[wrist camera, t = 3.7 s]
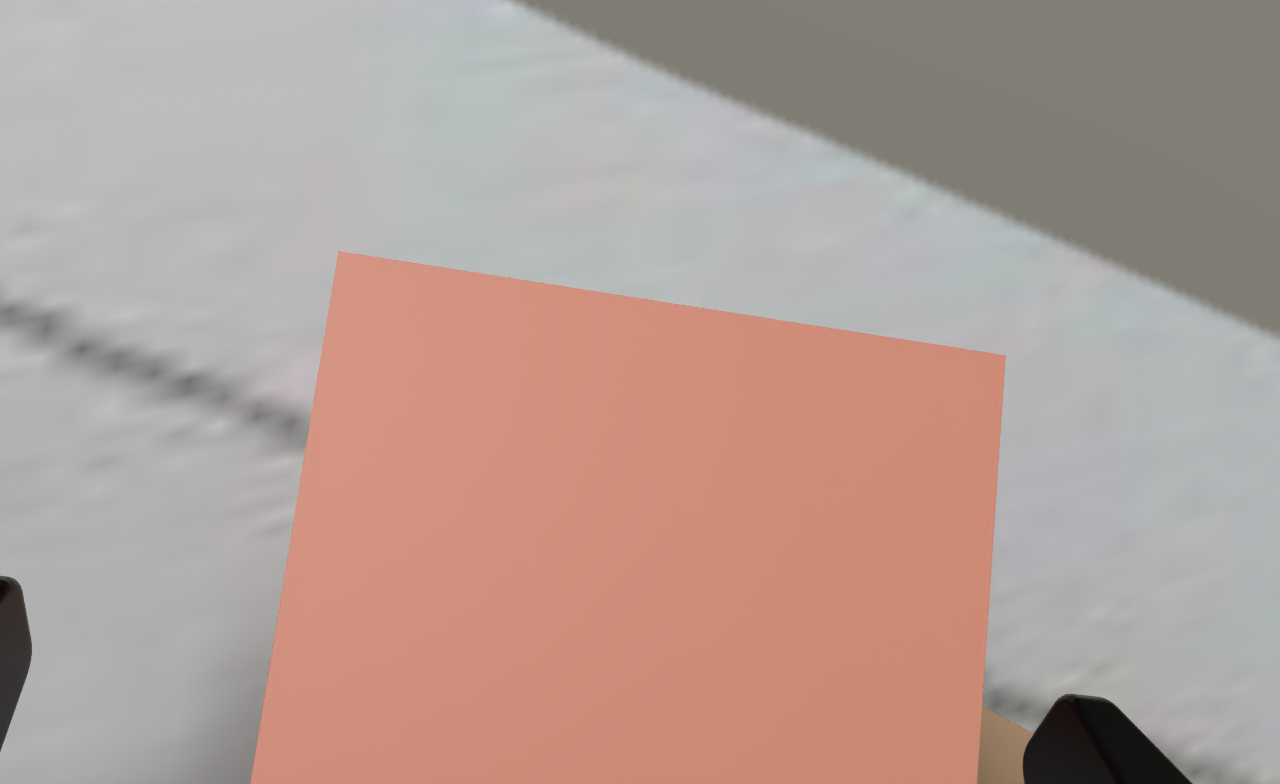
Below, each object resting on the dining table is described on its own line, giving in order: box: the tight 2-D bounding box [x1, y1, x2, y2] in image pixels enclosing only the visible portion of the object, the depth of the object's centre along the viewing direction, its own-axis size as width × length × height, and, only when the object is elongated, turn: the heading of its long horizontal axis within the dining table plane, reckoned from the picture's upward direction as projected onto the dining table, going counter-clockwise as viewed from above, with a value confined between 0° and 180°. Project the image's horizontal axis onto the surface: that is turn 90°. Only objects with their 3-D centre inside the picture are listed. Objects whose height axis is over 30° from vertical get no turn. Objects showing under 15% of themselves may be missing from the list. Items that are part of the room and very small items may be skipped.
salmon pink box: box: [250, 251, 1006, 784], centre depth 12 cm, size 3×4×12 cm
